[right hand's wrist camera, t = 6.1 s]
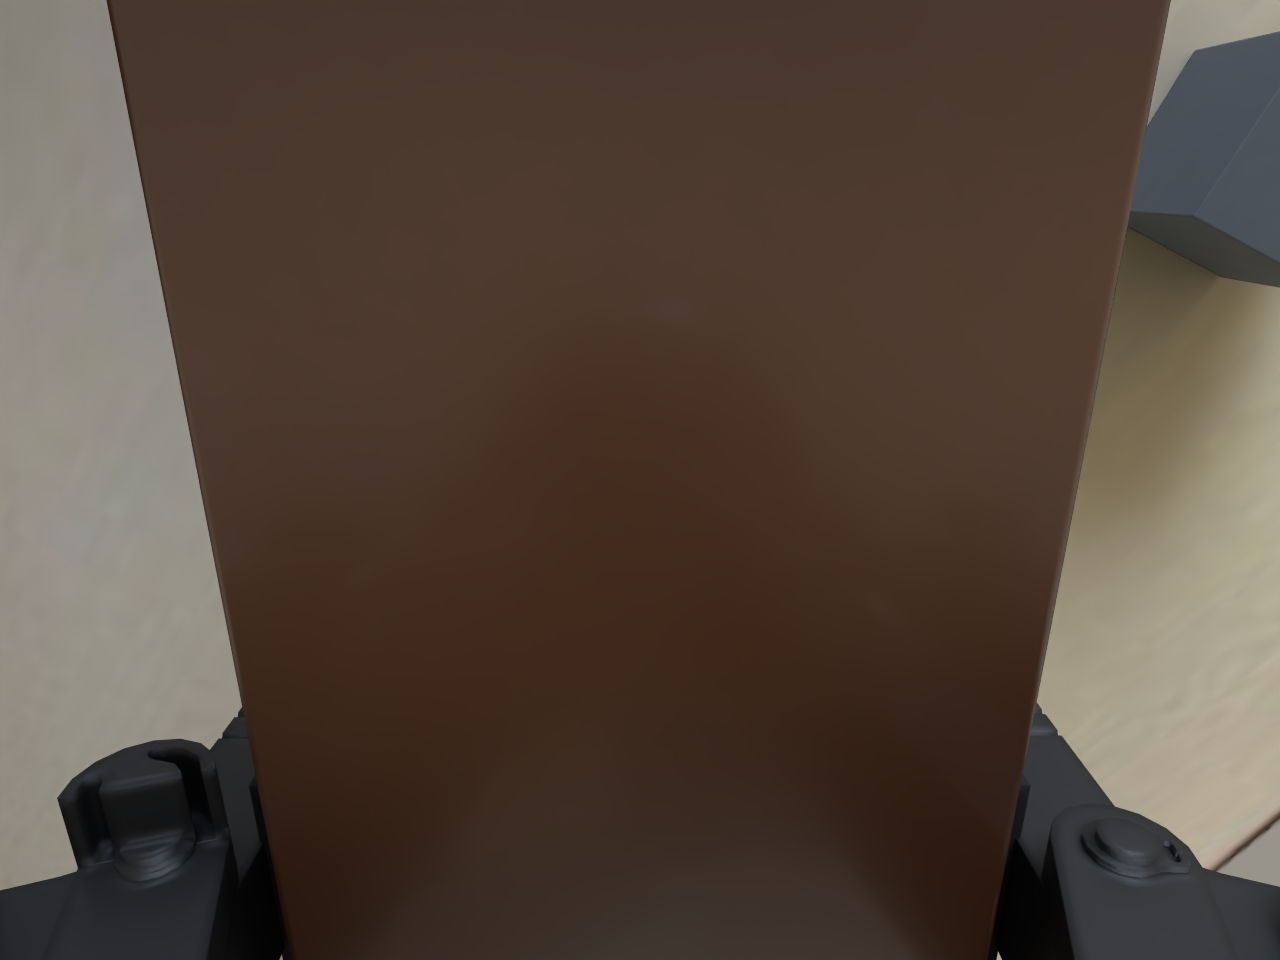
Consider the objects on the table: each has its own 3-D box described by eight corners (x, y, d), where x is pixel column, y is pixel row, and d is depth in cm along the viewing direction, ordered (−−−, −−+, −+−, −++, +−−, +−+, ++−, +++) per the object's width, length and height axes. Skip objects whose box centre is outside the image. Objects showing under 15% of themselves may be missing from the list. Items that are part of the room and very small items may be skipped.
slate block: (1222, 277, 27) (1343, 299, 22) (1094, 209, 26) (1192, 217, 22) (1326, 126, 26) (1481, 115, 21) (1194, 49, 25) (1323, 20, 20)
